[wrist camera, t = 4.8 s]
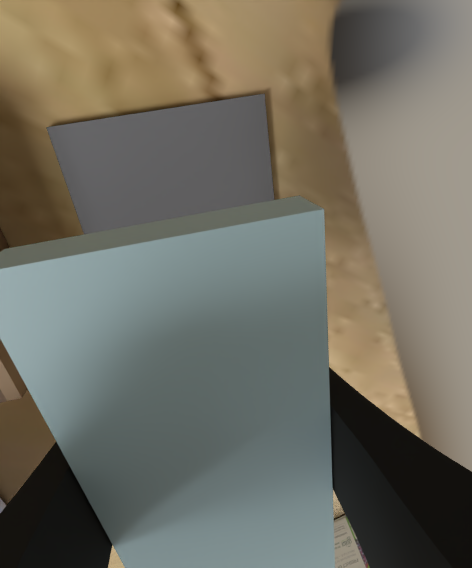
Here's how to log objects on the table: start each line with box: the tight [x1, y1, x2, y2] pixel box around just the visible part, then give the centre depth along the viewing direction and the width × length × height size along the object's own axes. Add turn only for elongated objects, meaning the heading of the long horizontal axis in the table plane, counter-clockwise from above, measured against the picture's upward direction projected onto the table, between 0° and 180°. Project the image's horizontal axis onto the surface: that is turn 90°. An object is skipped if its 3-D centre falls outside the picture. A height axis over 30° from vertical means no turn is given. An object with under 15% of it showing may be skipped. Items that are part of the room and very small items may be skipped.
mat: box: [46, 94, 274, 234], centre depth 17 cm, size 16×9×1 cm, turn 8°
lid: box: [0, 196, 335, 568], centre depth 8 cm, size 11×5×1 cm, turn 8°
